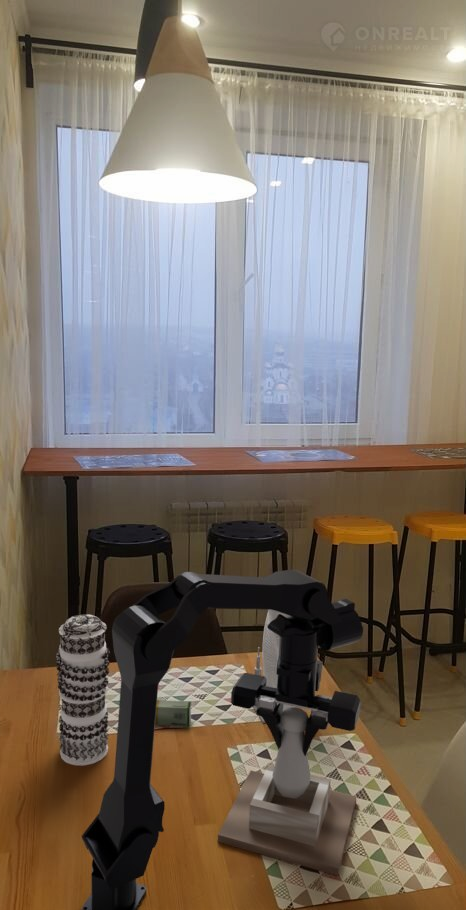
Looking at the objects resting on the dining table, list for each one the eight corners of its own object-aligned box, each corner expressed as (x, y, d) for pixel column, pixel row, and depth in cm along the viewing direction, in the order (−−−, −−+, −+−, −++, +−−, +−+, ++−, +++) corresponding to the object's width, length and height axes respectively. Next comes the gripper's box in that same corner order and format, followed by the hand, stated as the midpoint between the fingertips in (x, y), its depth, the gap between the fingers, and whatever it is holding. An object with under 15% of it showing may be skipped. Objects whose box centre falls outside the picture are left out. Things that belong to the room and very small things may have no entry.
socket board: (337, 875, 95) (340, 843, 94) (217, 841, 101) (218, 810, 100) (356, 802, 110) (358, 774, 109) (250, 776, 116) (251, 749, 115)
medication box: (191, 719, 132) (191, 700, 132) (190, 727, 130) (190, 708, 129) (130, 716, 133) (130, 697, 132) (127, 724, 130) (127, 705, 130)
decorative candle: (85, 729, 128) (83, 604, 123) (121, 747, 123) (120, 617, 118) (46, 753, 120) (43, 621, 116) (83, 773, 115) (81, 636, 111)
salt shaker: (307, 805, 101) (312, 725, 99) (269, 799, 102) (273, 720, 100) (311, 780, 107) (315, 704, 104) (275, 774, 108) (278, 699, 105)
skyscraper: (289, 698, 141) (295, 570, 135) (305, 719, 133) (312, 584, 128) (251, 704, 138) (255, 573, 133) (264, 726, 130) (270, 588, 125)
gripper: (369, 644, 105) (362, 736, 108) (254, 624, 111) (250, 711, 114) (357, 678, 94) (350, 778, 97) (231, 653, 100) (228, 749, 103)
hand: (292, 751), depth 103 cm, fingers closed on salt shaker, 3 cm apart
